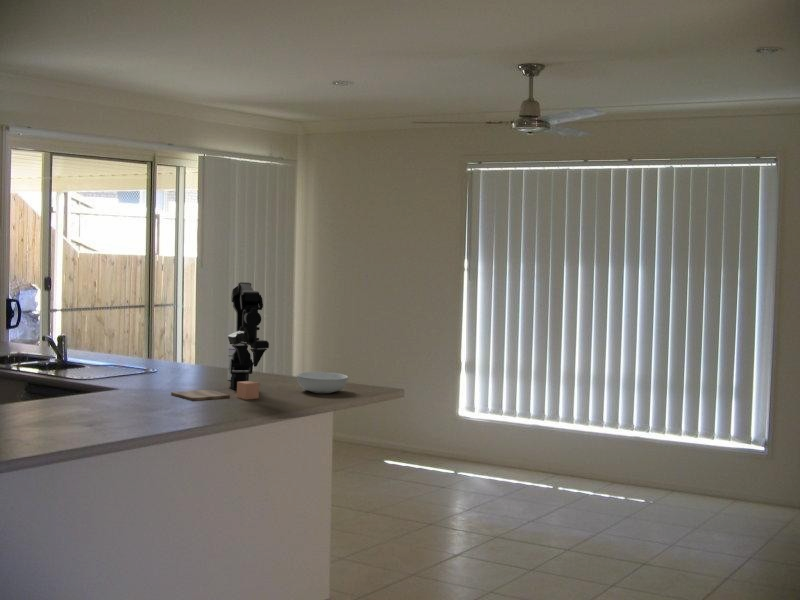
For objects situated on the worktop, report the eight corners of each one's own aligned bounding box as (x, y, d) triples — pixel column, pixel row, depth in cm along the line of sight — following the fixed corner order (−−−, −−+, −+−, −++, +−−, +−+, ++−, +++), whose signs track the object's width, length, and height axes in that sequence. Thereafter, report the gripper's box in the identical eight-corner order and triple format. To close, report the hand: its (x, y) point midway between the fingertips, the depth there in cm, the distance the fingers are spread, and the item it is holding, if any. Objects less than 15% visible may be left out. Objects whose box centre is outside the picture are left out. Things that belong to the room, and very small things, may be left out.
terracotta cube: (249, 396, 363) (250, 380, 362) (258, 398, 358) (259, 382, 358) (236, 397, 359) (237, 381, 358) (245, 399, 354) (245, 383, 354)
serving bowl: (307, 396, 367) (308, 379, 367) (288, 389, 386) (289, 372, 386) (355, 395, 377) (356, 377, 377) (335, 387, 395) (335, 371, 395)
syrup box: (239, 381, 402) (240, 347, 401) (226, 380, 403) (227, 346, 402) (244, 379, 407) (245, 346, 407) (231, 378, 408) (232, 345, 408)
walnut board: (207, 392, 368) (207, 389, 368) (229, 397, 357) (229, 395, 357) (171, 394, 358) (171, 392, 358) (192, 400, 346) (192, 398, 346)
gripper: (218, 322, 359) (217, 363, 359) (245, 326, 345) (243, 369, 346) (243, 322, 366) (241, 362, 367) (270, 326, 352) (269, 367, 353)
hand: (248, 365), depth 358 cm, fingers open, 9 cm apart
